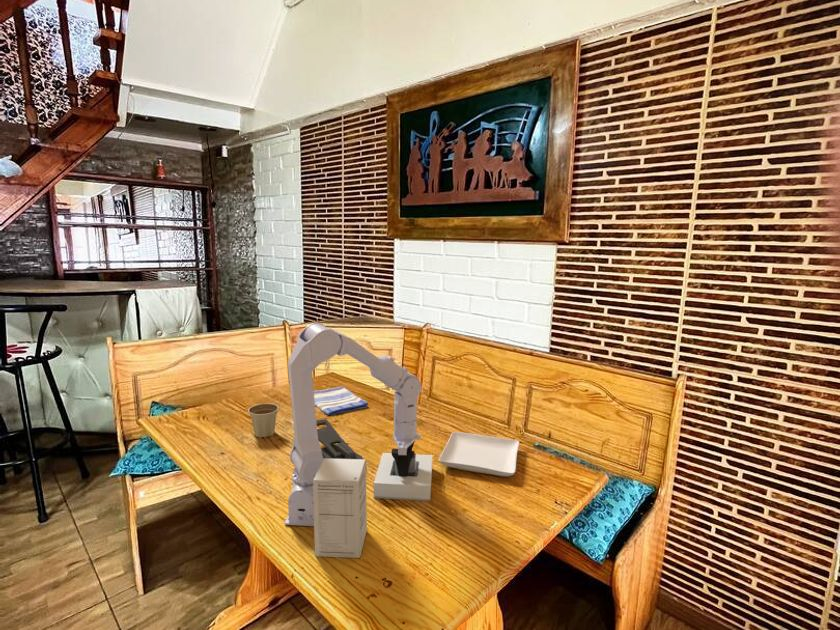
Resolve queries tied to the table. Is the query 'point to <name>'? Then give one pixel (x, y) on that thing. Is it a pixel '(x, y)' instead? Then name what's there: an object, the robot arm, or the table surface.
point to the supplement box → (340, 508)
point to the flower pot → (263, 419)
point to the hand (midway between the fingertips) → (404, 468)
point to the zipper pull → (332, 437)
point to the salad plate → (480, 454)
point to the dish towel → (338, 401)
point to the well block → (403, 480)
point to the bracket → (411, 468)
